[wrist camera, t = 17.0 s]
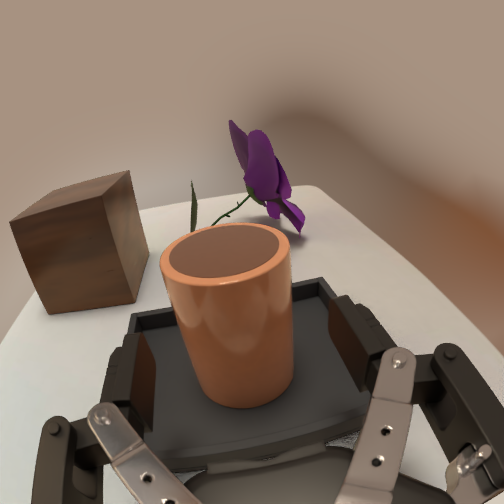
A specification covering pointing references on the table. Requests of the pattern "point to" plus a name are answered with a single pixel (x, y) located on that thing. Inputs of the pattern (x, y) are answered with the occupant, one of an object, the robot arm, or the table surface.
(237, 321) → the cup
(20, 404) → the table surface
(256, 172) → the flower
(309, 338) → the tray
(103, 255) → the block
